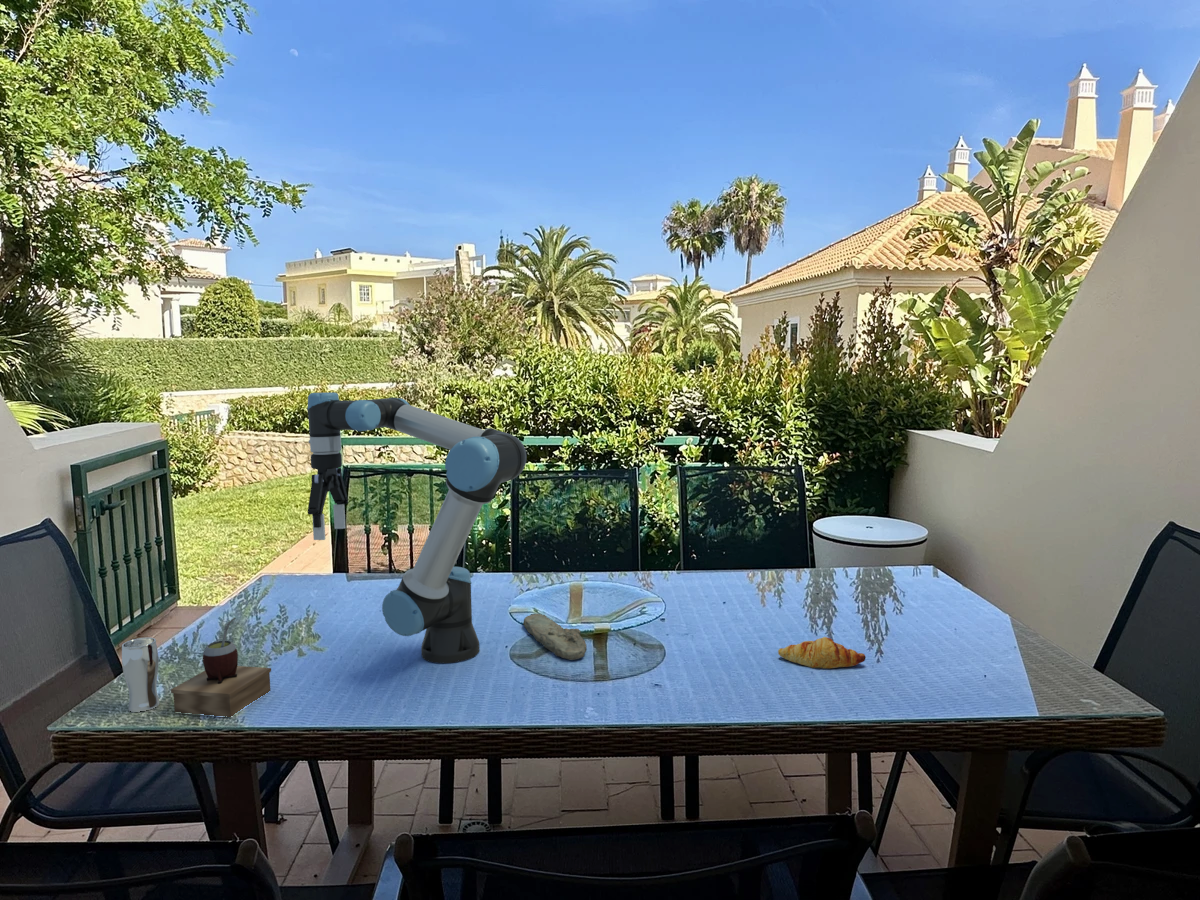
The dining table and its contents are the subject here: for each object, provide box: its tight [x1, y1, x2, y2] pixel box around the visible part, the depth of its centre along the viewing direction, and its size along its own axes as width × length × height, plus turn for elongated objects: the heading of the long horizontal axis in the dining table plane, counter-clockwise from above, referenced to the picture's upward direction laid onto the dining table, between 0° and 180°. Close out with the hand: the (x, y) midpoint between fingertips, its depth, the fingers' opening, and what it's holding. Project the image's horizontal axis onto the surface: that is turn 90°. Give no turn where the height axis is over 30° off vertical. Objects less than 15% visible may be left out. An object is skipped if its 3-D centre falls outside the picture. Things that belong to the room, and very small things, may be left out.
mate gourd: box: [202, 617, 239, 684], centre depth 172 cm, size 8×8×15 cm
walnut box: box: [170, 665, 272, 717], centre depth 174 cm, size 15×15×6 cm
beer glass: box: [121, 637, 161, 713], centre depth 171 cm, size 7×7×15 cm
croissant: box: [777, 636, 867, 669], centre depth 192 cm, size 21×10×8 cm, turn 74°
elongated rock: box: [522, 613, 588, 661], centre depth 211 cm, size 35×5×10 cm
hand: (330, 534), depth 198 cm, fingers open, 13 cm apart
